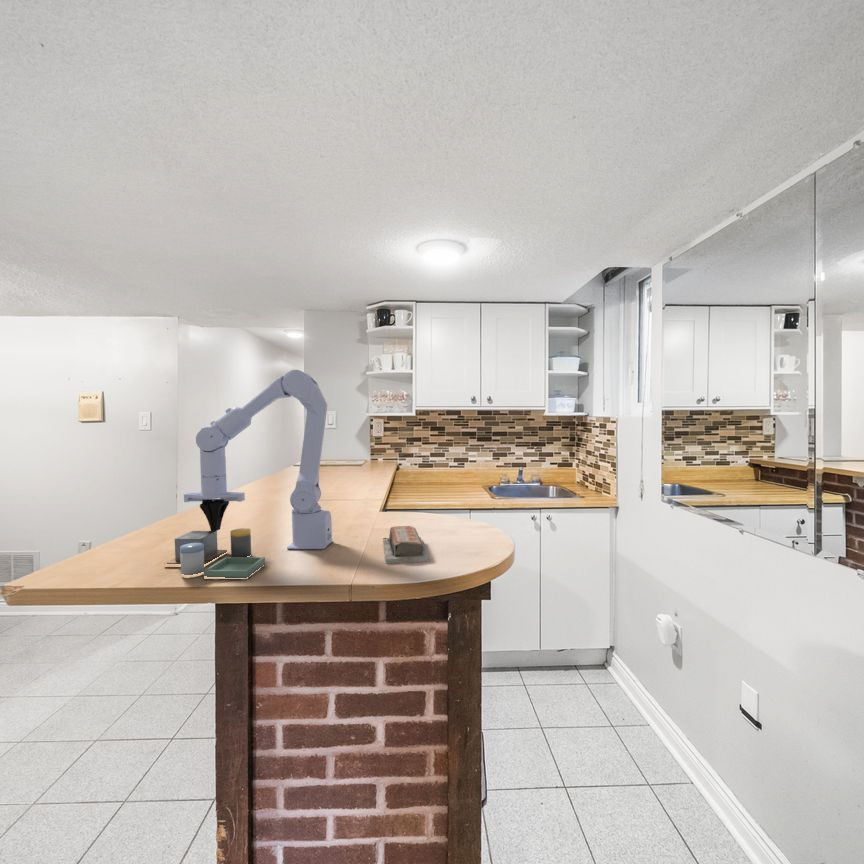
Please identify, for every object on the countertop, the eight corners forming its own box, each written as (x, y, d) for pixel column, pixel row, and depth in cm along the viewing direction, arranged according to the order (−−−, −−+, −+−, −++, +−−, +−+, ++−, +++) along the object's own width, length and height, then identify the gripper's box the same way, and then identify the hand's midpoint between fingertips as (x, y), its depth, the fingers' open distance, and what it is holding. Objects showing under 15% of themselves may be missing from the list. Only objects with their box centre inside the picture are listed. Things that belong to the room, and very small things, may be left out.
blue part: (208, 571, 99) (207, 542, 99) (197, 578, 95) (196, 548, 95) (188, 571, 100) (187, 542, 99) (176, 578, 95) (175, 548, 95)
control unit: (227, 553, 112) (226, 529, 112) (204, 567, 102) (203, 540, 102) (190, 553, 112) (189, 529, 112) (164, 567, 102) (163, 540, 102)
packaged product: (382, 525, 120) (420, 523, 121) (382, 543, 120) (420, 541, 121) (385, 544, 102) (430, 542, 103) (385, 566, 102) (430, 563, 103)
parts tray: (265, 565, 103) (265, 557, 103) (247, 579, 94) (246, 570, 94) (225, 565, 103) (225, 557, 103) (203, 579, 94) (203, 570, 94)
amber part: (254, 553, 112) (253, 528, 111) (246, 559, 107) (245, 532, 107) (236, 553, 112) (235, 528, 112) (227, 559, 108) (226, 532, 107)
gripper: (249, 473, 118) (251, 526, 119) (194, 474, 119) (196, 526, 120) (236, 477, 111) (238, 533, 112) (177, 477, 112) (180, 533, 113)
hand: (215, 530), depth 115 cm, fingers closed
